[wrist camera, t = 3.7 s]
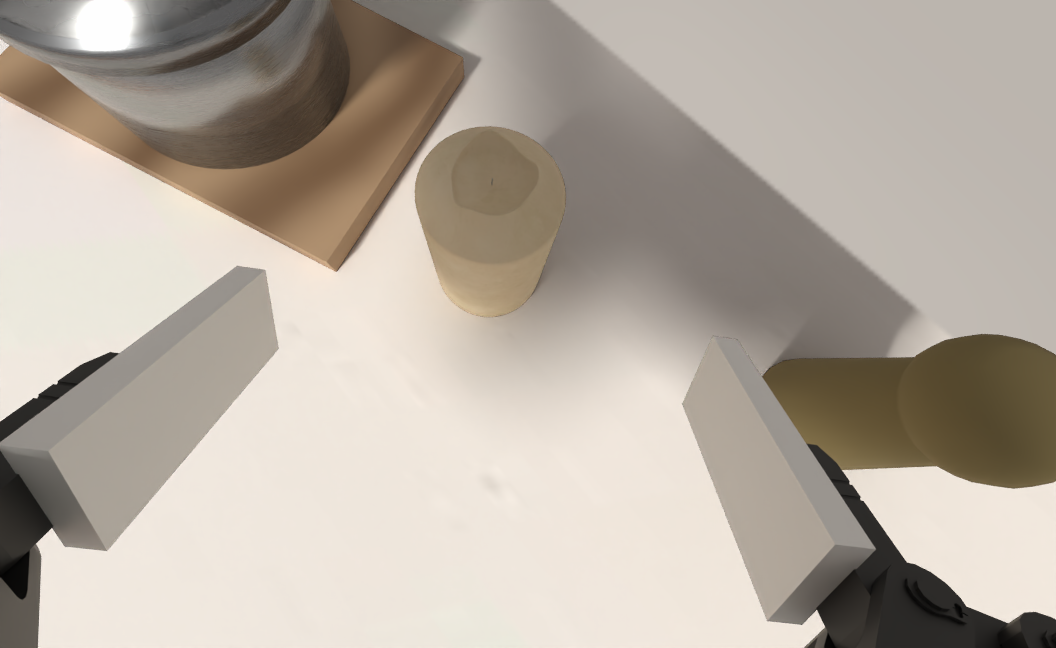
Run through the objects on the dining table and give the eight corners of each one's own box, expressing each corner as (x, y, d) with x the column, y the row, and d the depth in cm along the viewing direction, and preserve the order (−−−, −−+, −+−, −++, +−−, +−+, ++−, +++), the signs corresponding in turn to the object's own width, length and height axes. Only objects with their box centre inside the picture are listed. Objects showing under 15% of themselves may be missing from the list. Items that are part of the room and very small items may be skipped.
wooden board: (6, 100, 24) (-24, 79, 23) (172, -73, 27) (154, -101, 26) (336, 271, 24) (326, 262, 22) (464, 76, 27) (463, 57, 26)
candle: (438, 222, 25) (409, 95, 15) (537, 223, 26) (569, 101, 16) (437, 319, 24) (405, 248, 14) (540, 318, 24) (577, 249, 15)
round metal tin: (46, 103, 23) (-181, -62, 15) (203, -65, 26) (81, -277, 18) (269, 219, 23) (157, 113, 15) (401, 36, 26) (365, -133, 18)
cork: (764, 343, 25) (969, 287, 15) (864, 379, 26) (1139, 349, 15) (741, 449, 24) (949, 472, 13) (847, 486, 24) (1137, 538, 13)
